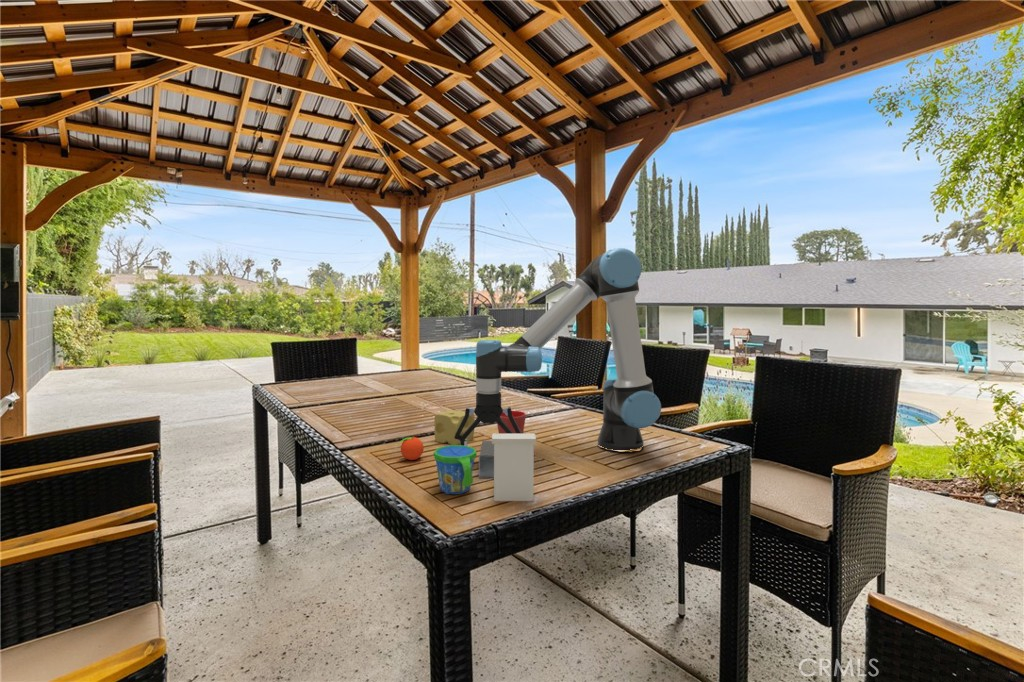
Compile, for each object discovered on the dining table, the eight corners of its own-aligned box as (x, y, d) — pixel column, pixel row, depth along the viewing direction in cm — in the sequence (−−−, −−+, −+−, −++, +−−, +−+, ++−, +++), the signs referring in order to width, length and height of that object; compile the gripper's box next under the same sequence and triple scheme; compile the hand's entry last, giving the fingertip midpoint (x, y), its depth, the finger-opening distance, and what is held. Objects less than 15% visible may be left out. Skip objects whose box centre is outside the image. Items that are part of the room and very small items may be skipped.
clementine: (398, 464, 138) (398, 441, 138) (395, 458, 145) (395, 435, 144) (425, 461, 141) (425, 438, 141) (421, 455, 148) (421, 433, 147)
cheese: (456, 446, 158) (456, 417, 157) (432, 441, 164) (432, 413, 163) (475, 439, 167) (475, 412, 166) (452, 435, 173) (452, 408, 172)
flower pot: (492, 444, 161) (492, 416, 160) (499, 435, 172) (499, 409, 171) (523, 445, 159) (523, 417, 159) (527, 437, 170) (527, 410, 170)
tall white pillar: (532, 483, 124) (532, 426, 123) (535, 501, 111) (535, 438, 110) (493, 483, 124) (493, 426, 123) (491, 501, 111) (492, 438, 110)
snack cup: (485, 497, 114) (485, 456, 113) (443, 504, 109) (443, 462, 109) (464, 477, 128) (464, 440, 127) (427, 483, 124) (426, 445, 123)
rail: (496, 459, 144) (496, 440, 143) (494, 477, 128) (495, 456, 127) (481, 459, 143) (481, 440, 143) (478, 477, 127) (478, 456, 127)
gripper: (529, 389, 143) (529, 457, 144) (448, 389, 143) (448, 458, 144) (531, 394, 136) (530, 465, 137) (445, 393, 135) (445, 465, 137)
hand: (488, 461), depth 140 cm, fingers open, 13 cm apart
